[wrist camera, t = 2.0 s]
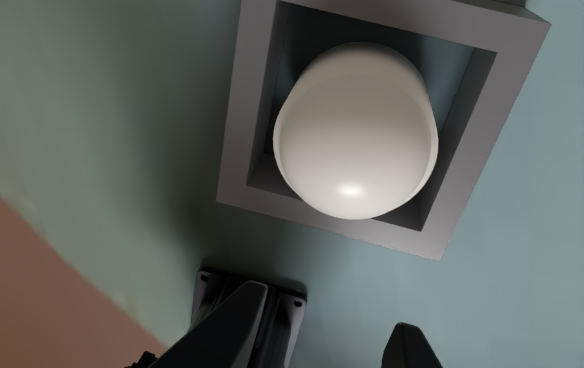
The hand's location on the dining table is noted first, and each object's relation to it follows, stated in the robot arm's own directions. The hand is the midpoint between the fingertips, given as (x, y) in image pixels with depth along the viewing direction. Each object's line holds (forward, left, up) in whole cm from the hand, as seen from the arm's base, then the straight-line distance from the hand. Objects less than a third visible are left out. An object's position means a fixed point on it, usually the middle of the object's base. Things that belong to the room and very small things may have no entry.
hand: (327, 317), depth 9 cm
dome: (0, 0, -12) cm, 12 cm away
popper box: (0, 0, -13) cm, 13 cm away
